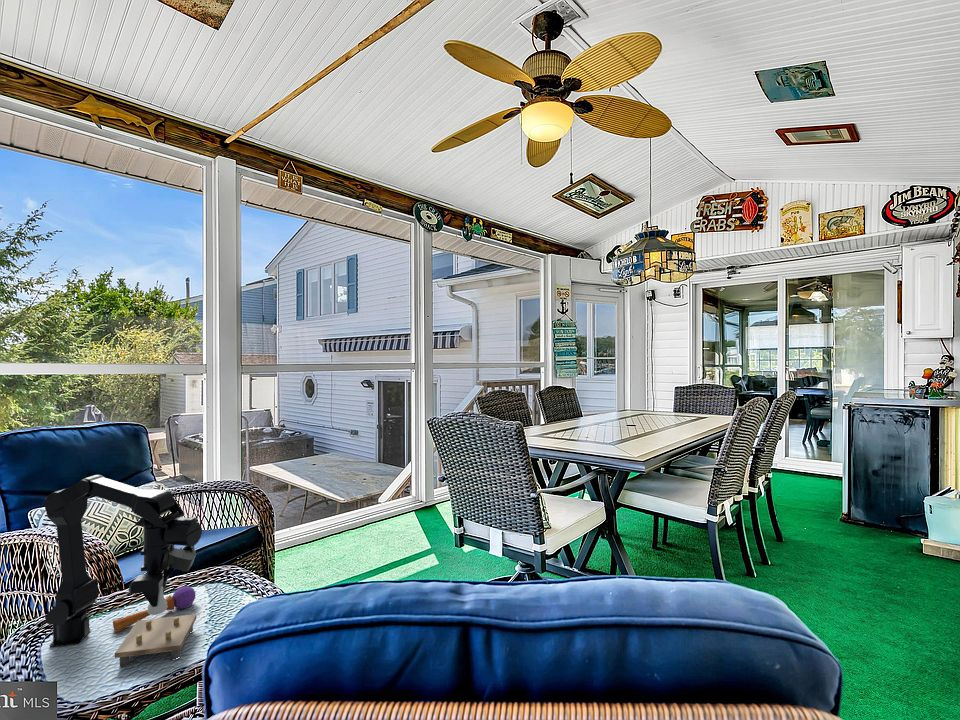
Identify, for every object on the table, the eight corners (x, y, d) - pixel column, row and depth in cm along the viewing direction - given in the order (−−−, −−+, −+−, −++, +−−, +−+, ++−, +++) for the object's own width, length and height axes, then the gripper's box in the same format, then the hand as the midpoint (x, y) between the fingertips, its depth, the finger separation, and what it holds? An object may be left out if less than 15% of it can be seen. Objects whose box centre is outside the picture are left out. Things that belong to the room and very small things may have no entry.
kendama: (109, 613, 136) (189, 581, 152) (113, 635, 136) (192, 600, 152) (116, 618, 133) (197, 584, 148) (120, 640, 132) (200, 604, 148)
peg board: (114, 669, 120) (114, 647, 120) (137, 635, 133) (137, 615, 133) (180, 660, 124) (180, 639, 123) (196, 628, 137) (196, 608, 137)
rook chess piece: (153, 606, 130) (153, 576, 129) (171, 605, 130) (171, 575, 130) (143, 615, 125) (142, 584, 125) (161, 615, 126) (161, 584, 125)
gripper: (181, 555, 120) (181, 619, 121) (202, 526, 138) (202, 581, 139) (127, 559, 117) (128, 624, 118) (156, 529, 135) (156, 585, 136)
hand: (157, 602), depth 128 cm, fingers closed on rook chess piece, 3 cm apart
